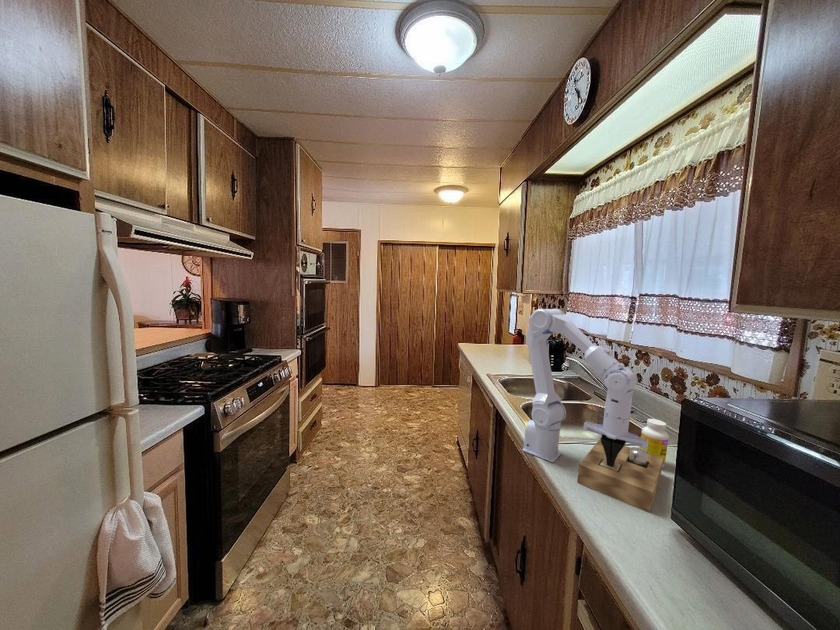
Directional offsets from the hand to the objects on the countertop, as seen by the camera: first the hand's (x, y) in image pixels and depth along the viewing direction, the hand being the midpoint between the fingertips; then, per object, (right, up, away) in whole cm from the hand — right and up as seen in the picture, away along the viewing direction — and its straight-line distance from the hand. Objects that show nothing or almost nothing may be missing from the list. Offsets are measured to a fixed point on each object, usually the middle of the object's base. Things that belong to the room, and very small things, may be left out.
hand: (610, 464), depth 89 cm
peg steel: (+9, -2, +3) cm, 10 cm away
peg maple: (0, -5, +1) cm, 5 cm away
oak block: (+4, -5, +3) cm, 7 cm away
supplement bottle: (+19, -5, +13) cm, 24 cm away
